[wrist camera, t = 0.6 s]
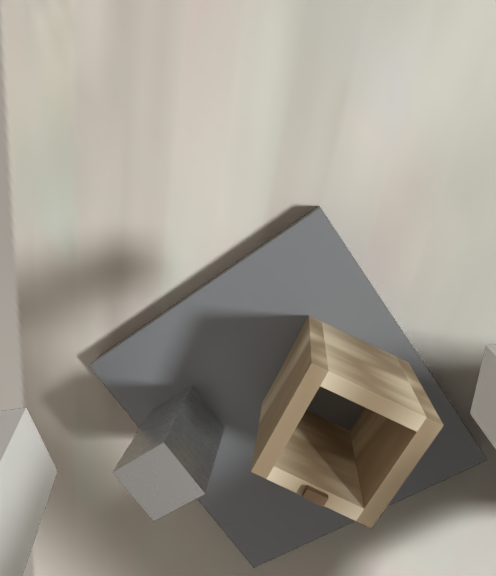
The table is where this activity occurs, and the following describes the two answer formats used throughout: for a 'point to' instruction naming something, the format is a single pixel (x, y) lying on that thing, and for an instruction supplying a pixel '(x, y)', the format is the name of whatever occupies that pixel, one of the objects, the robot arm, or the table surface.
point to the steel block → (172, 454)
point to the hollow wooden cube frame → (335, 439)
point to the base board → (272, 376)
